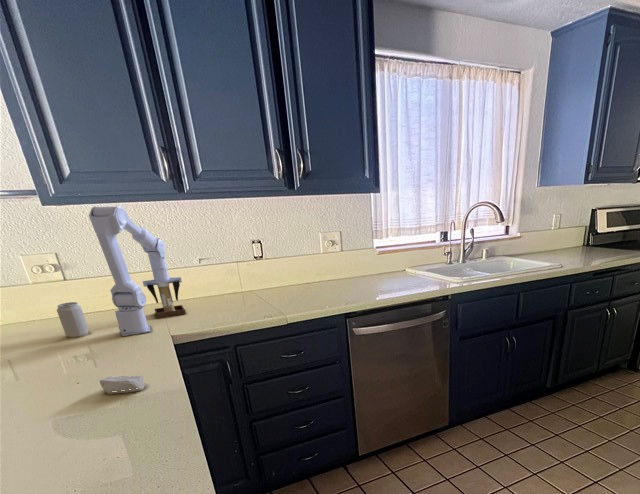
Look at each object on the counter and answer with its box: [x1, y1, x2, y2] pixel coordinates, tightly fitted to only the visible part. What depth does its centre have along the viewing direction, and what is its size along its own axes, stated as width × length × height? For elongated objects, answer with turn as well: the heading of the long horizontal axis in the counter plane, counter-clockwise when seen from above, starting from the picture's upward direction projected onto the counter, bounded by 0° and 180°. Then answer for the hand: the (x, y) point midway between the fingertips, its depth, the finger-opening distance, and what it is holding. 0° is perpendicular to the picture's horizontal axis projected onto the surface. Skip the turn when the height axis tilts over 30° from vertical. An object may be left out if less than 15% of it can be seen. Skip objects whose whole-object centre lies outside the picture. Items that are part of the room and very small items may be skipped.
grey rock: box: [99, 375, 146, 395], centre depth 115 cm, size 10×6×6 cm, turn 91°
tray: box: [154, 304, 186, 319], centre depth 184 cm, size 11×9×2 cm
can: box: [56, 301, 90, 339], centre depth 158 cm, size 8×8×12 cm
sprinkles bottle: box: [156, 282, 175, 312], centre depth 181 cm, size 5×5×14 cm
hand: (167, 301), depth 182 cm, fingers open, 7 cm apart
